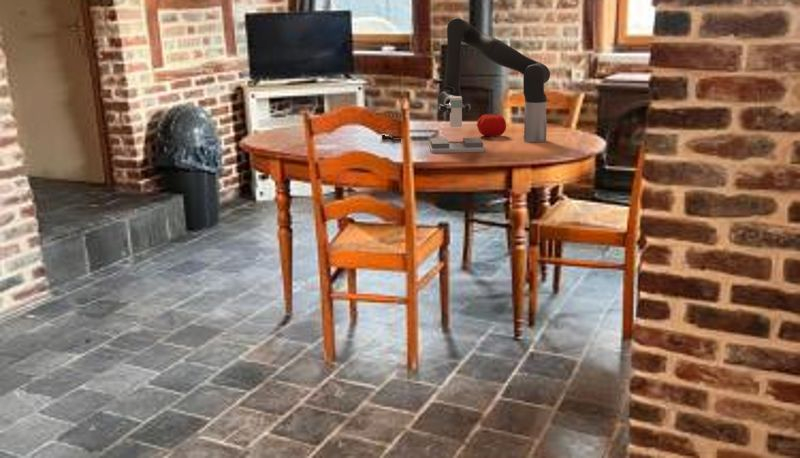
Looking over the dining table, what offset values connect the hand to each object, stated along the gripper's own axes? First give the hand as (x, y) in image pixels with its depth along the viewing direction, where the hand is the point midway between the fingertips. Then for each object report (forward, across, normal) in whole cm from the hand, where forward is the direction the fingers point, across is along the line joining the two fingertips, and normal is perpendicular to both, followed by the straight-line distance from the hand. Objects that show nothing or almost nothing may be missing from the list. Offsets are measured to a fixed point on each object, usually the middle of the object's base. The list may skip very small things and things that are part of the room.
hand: (456, 110), depth 321 cm
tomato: (-32, +19, +17) cm, 41 cm away
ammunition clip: (-31, -26, +17) cm, 44 cm away
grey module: (-3, 0, +7) cm, 7 cm away
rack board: (-2, 0, +17) cm, 17 cm away
